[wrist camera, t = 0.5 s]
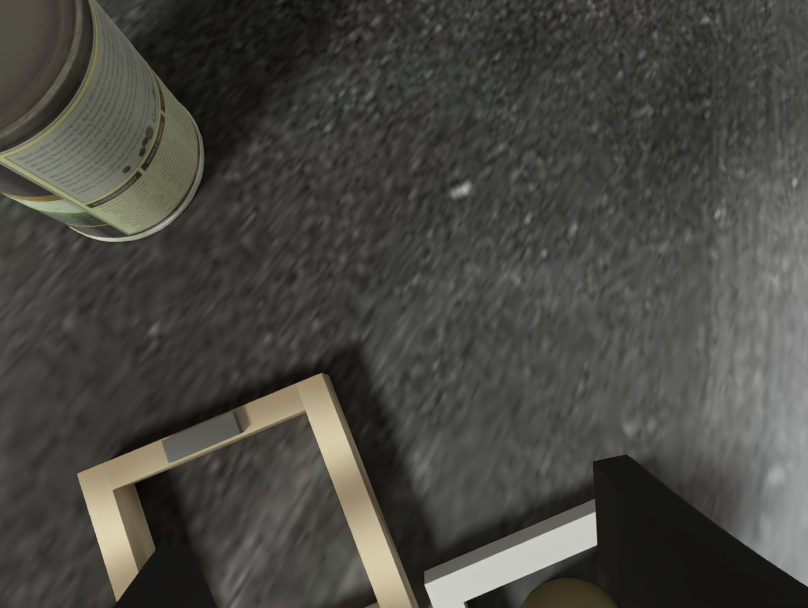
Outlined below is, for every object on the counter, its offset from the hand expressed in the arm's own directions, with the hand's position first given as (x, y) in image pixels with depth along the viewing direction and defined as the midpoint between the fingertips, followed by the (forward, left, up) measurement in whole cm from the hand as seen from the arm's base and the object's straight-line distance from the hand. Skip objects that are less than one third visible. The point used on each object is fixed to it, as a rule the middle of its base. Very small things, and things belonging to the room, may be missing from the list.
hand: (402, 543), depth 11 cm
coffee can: (+23, +10, -24) cm, 35 cm away
